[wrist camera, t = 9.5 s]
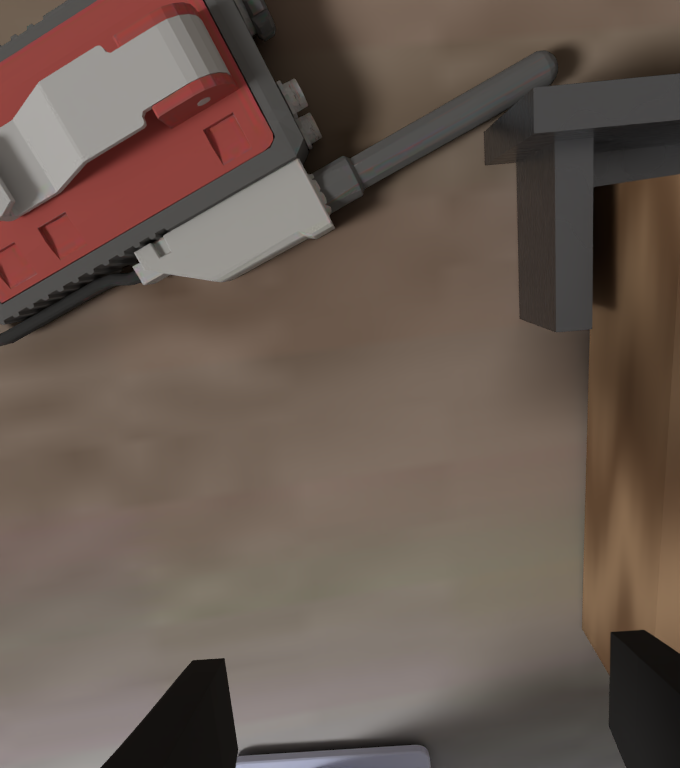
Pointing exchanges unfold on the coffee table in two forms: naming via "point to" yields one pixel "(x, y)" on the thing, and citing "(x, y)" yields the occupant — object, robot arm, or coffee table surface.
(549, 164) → the bracket
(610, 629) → the brown long rectangular block
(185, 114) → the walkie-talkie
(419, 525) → the coffee table surface
